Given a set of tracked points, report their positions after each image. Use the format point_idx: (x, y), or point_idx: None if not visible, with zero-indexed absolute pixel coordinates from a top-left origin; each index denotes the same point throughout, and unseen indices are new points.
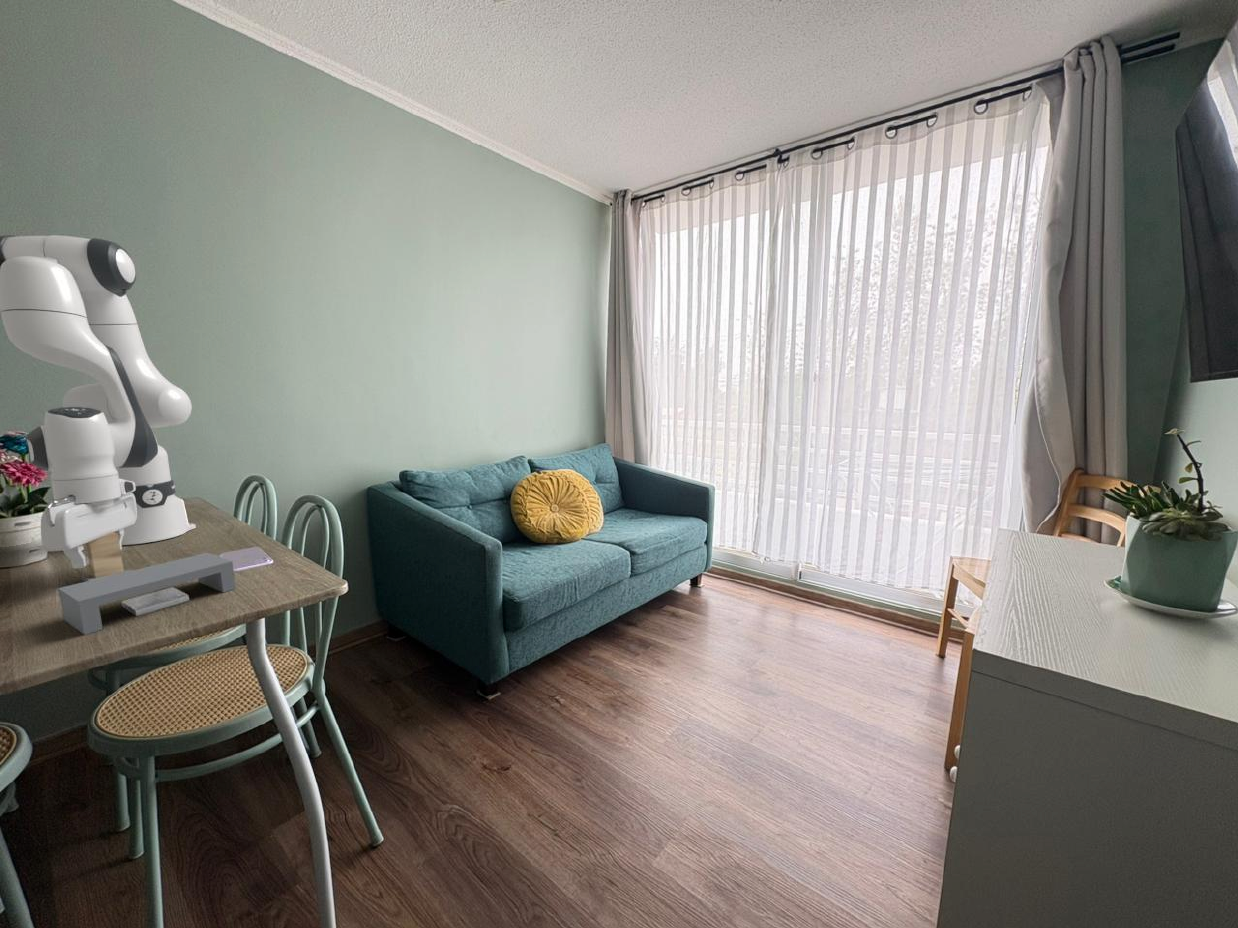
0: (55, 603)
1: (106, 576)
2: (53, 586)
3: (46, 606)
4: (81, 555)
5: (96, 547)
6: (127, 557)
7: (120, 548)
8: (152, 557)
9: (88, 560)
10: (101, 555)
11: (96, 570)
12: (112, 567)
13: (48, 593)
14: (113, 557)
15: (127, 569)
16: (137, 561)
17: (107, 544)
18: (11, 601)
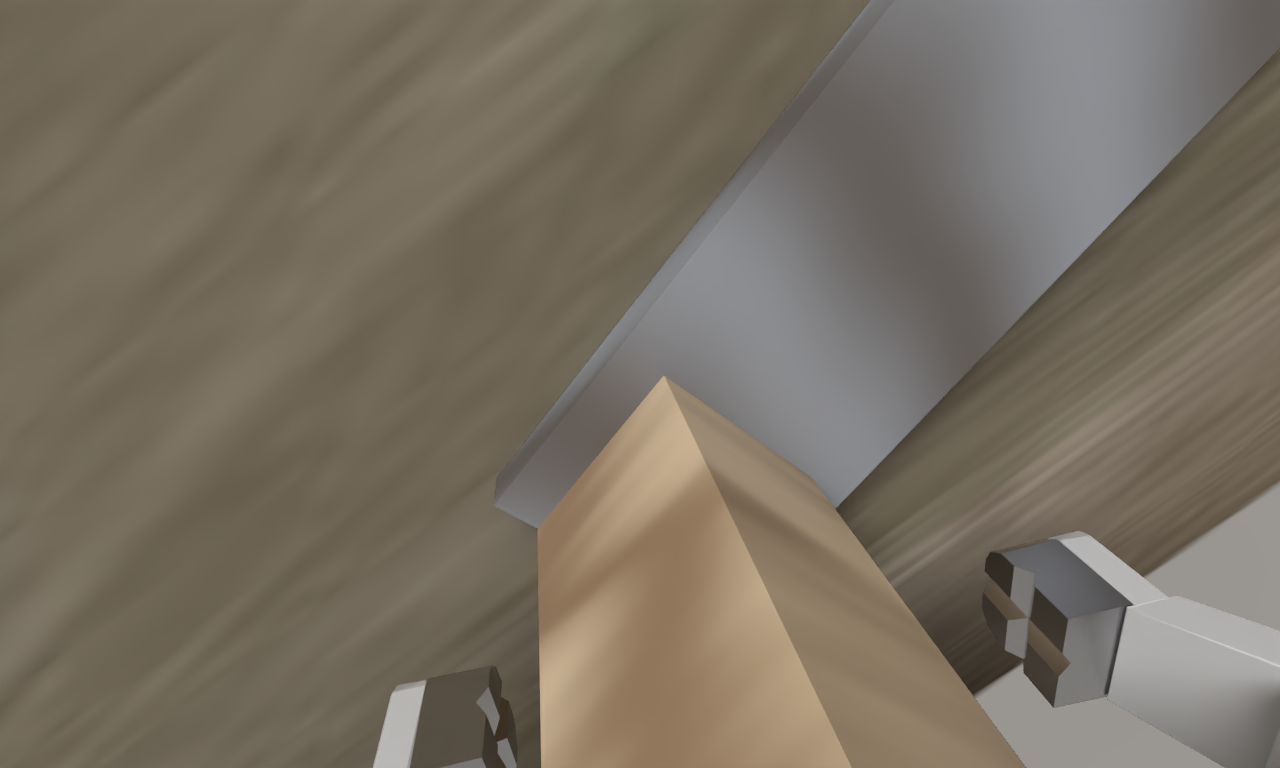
0: (1180, 387)
1: (788, 422)
2: None
3: (1217, 399)
4: (1253, 625)
5: (970, 718)
6: (101, 741)
7: (422, 693)
8: (54, 535)
9: (1037, 580)
10: (870, 596)
11: (831, 515)
12: (745, 451)
13: (935, 592)
14: (770, 506)
15: (602, 388)
16: (207, 575)
17: (895, 682)
18: (1011, 668)
